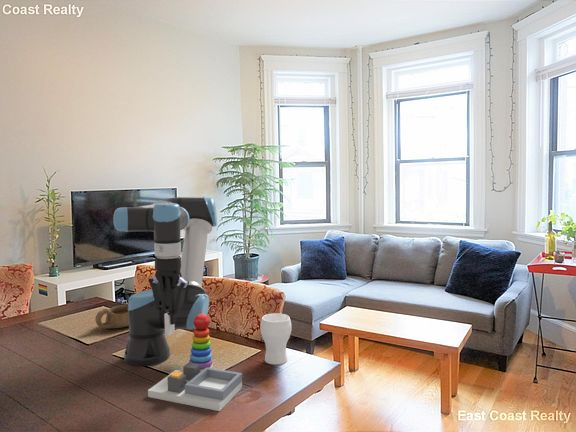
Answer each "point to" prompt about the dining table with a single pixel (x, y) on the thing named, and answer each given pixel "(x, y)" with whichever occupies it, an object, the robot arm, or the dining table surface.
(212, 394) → the frame
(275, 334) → the cup
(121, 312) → the brown mug
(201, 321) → the stacking toy
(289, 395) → the dining table surface
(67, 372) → the dining table surface
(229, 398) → the panel
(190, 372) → the toggle
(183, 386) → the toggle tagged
